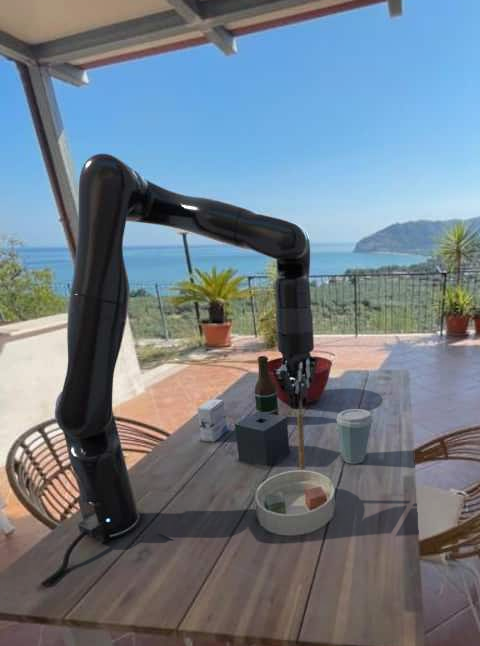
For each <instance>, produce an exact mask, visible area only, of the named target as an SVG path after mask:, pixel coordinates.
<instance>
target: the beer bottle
mask: <svg viewBox="0 0 480 646" xmlns="http://www.w3.org/2000/svg"><path fill="white" fill-rule="evenodd" d="M256 361H257V362H258V363H257V364H258V366H257V367H258V379H257V382H256V384H255V386H254V399H255V409H256V412H258V411H260V412H264V413H269V414H274V415H278V416H279V405H278V398H277V391H276V386H275V384H274V382H273V381H272V379H271V378H270V374H269V368H268V361H269V357H268V356H266V355H261V356H258V357H257V359H256Z"/></svg>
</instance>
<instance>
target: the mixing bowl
mask: <svg viewBox="0 0 480 646" xmlns="http://www.w3.org/2000/svg"><path fill="white" fill-rule="evenodd" d="M311 356H312V357H317V358H318V361H317V366H316V371H315V376H314V381H313V383H310V384H309V388H308V403H307V404H306V405H309V404H311V403H314V402H315V401H317V400H318V399H319V398H320V397H321V396H322V394H324V391H325V390H326V389H325V388H326V386H327V384H328V381H329V379H330V378H329V377H330V373H331V369H332V366H333V361H332V360H330V359H328V358H326V357H322V356H315V355H311ZM281 362H282V357H278V358H273V359H271V360H268V368H269V374H270V378H271V379H272V381H273V382H274V384H275V386H276V391H277V400H279V401H281V402H283V403H285V404H287V405H289V394H288V393H287V392H282V391H281V389H280V387H279V385H278V382H277V380H276V378H275V376H274V374H273V371H274V370H275V369H277V370H278V369H279V368H280V367H281V366H282V364H281ZM310 373H311V372H310ZM291 378H295V377H291ZM301 379H302V378H301ZM293 384H294V383H292V385H293ZM302 406H304V404H302Z"/></svg>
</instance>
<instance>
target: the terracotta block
mask: <svg viewBox="0 0 480 646" xmlns="http://www.w3.org/2000/svg"><path fill="white" fill-rule="evenodd" d="M305 499H306V505H307V507H308V509H309V511H311V510H314V509H316V508H318V507H319V506H321V505H323V504H324V503H325V502H326V494H325V493H324V491H323V489H322V488H321V486H320V487H316V488H312V489H308V490H305Z"/></svg>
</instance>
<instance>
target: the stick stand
mask: <svg viewBox="0 0 480 646" xmlns="http://www.w3.org/2000/svg"><path fill="white" fill-rule="evenodd" d="M234 432H235V438H236V447H237V454H238V461H239V462H241V463H246V464H249V465H255V464H256V465H260V466H263V467H266V468H267V467H269V466H270V465H272V464H273V463H274V462H276V461H278V460H279V459H280V458H282V457H283V456H284V457H285V456H288V454H290V442H289V427H288V417H287V416H282V415H279V414H278V415H274V414H269V413H264V412H260V411H258V412H257V411H256V412H254V413H253V414H251V415H249V416H247V417H245V418H243V419H241V420H239V421H238V422H236V423H234Z"/></svg>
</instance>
